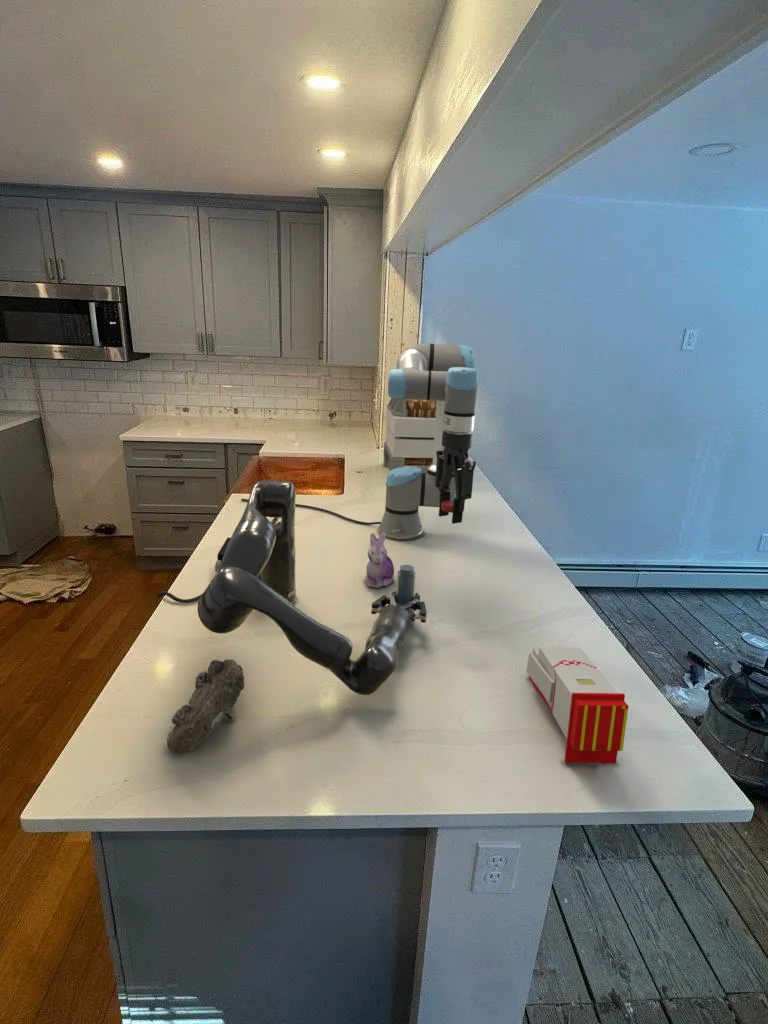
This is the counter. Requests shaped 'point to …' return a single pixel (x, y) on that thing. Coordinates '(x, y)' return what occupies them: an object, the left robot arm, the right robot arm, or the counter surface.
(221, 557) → the figurine character
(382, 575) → the figurine
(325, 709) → the counter surface
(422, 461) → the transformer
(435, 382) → the right robot arm
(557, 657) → the toy
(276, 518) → the feather
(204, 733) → the fossil
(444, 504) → the lid
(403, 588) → the jar
